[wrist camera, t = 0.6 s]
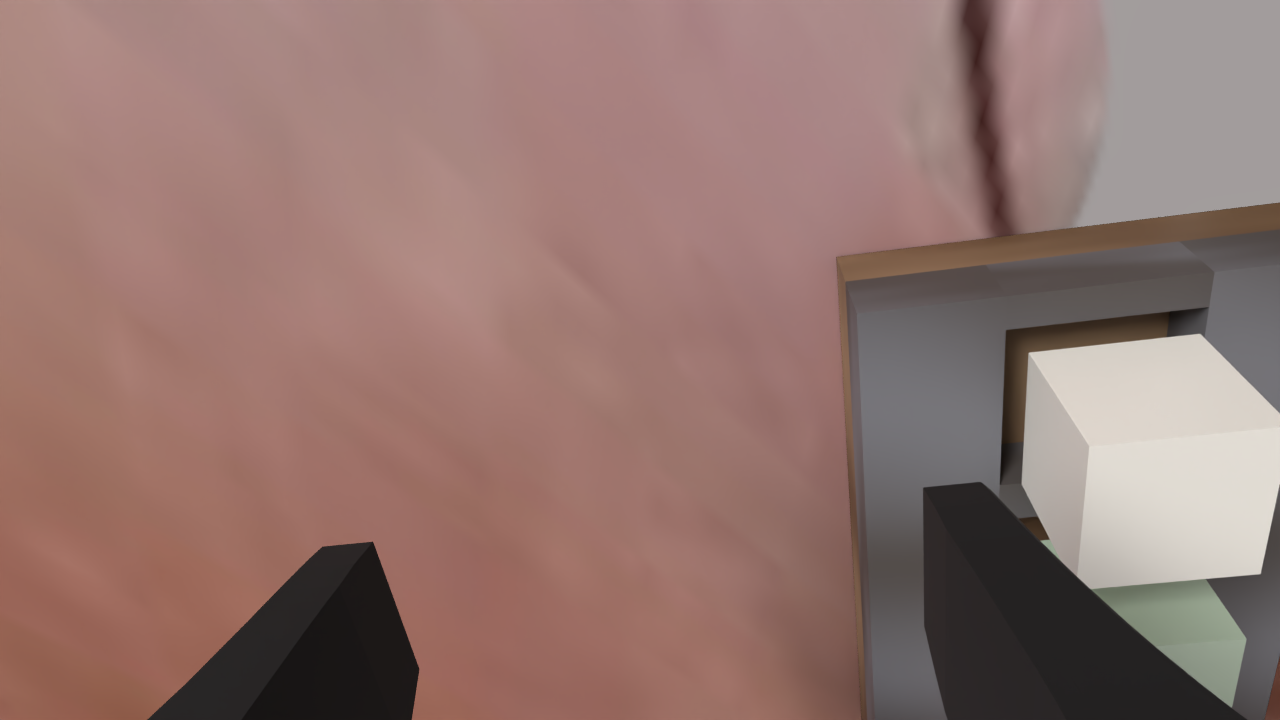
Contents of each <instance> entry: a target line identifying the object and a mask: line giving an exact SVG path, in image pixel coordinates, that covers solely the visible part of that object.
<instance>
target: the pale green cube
mask: <svg viewBox="0 0 1280 720" xmlns="http://www.w3.org/2000/svg"><path fill="white" fill-rule="evenodd" d="M1041 542H1042V543H1043V544H1044V545H1045V546H1046V547H1047V548H1048V549H1049V550H1050V551H1051V552H1052V553H1053V554H1054V555H1055V556H1056V557H1057V558H1058V559H1059V560H1060V558H1059V556H1058V554H1057V552H1056V550H1055V548H1054V546H1053V544H1052V543H1051V541H1050V540H1041ZM1060 561H1061V560H1060ZM1091 590H1092V591H1093V592H1094V593H1095V594H1096V595H1098V596H1099V597H1100V598H1101V599H1102V600H1103V601H1104V602H1105V603H1106V604H1107V605H1109V606H1110V607H1111V608H1112V609H1113V610H1114V611H1115V612H1116V613H1117V614H1119V615H1120V616H1121V617H1122V618H1123V619H1124V620H1125V621H1126V622H1127V623H1128V624H1130V625H1131V626H1132V627H1133V628H1134V629H1135V630H1137V631H1138V632H1139V633H1140V634H1141V635H1142V636H1143V637H1145V638H1146V639H1147V640H1148V641H1149V642H1150V643H1152V644H1153V645H1154V646H1155V647H1156V648H1157V649H1159V650H1160V651H1161V652H1162V653H1164V654H1165V655H1166V656H1167V657H1168V658H1170V659H1171V660H1172V661H1173V662H1175V663H1176V664H1177V665H1178V666H1179V667H1181V668H1182V669H1183V670H1184V671H1186V672H1187V673H1188V674H1189V675H1190V676H1192V677H1193V678H1194V679H1195V680H1197V681H1198V682H1199V683H1200V684H1202V685H1203V686H1204V687H1205V688H1207V689H1208V690H1209V691H1211V692H1212V693H1213V694H1214V695H1216V696H1217V697H1218V698H1219V699H1221V700H1222V701H1223V702H1225V703H1226V704H1227V705H1229V706H1230V707H1231V708H1232V705H1233V701H1234V696H1235V691H1236V686H1237V682H1238V677H1239V672H1240V668H1241V663H1242V658H1243V654H1244V649H1245V644H1246V640H1247V638H1246V637H1245V636H1244V634H1243V633H1242V631H1241V630H1240V628H1239V627H1238V625H1237V624H1236V622H1235V621H1234V620H1233V618H1232V617H1231V615H1230V614H1229V612H1228V611H1227V609H1226V608H1225V606H1224V605H1223V604H1222V602H1221V601H1220V599H1219V598H1218V596H1217V595H1216V593H1215V592H1214V590H1213V589H1212V588H1211V586H1210V585H1209V583H1208V582H1207V580H1206V579H1199V580H1188V581H1176V582H1165V583H1153V584H1142V585H1130V586H1119V587H1108V588H1096V589H1091Z"/></svg>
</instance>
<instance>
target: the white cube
mask: <svg viewBox="0 0 1280 720" xmlns="http://www.w3.org/2000/svg"><path fill="white" fill-rule="evenodd" d="M1279 485H1280V413H1279V412H1278V411H1277V410H1276V409H1275V408H1274V407H1273V406H1272V405H1271V404H1270V403H1269V402H1268V401H1267V400H1266V399H1265V398H1264V397H1263V396H1262V395H1261V394H1260V393H1259V392H1258V391H1257V390H1256V389H1255V388H1254V387H1253V386H1252V385H1251V384H1250V383H1249V382H1248V381H1247V380H1246V379H1245V378H1244V377H1243V376H1242V375H1241V374H1240V373H1239V372H1238V371H1237V370H1236V369H1235V368H1234V367H1233V366H1232V365H1231V364H1230V363H1229V362H1228V361H1227V360H1226V359H1225V358H1224V357H1223V356H1222V355H1221V354H1220V353H1219V352H1218V351H1217V350H1216V349H1215V348H1214V347H1213V346H1212V345H1211V344H1210V343H1209V342H1208V341H1207V340H1206V339H1205V338H1204V337H1203V336H1202V335H1201V334H1193V335H1184V336H1175V337H1166V338H1157V339H1148V340H1139V341H1130V342H1121V343H1112V344H1103V345H1094V346H1085V347H1076V348H1067V349H1058V350H1049V351H1040V352H1031V353H1029V354H1028V373H1027V391H1026V410H1025V429H1024V448H1023V466H1022V486H1023V488H1024V490H1025V492H1026V494H1027V496H1028V498H1029V500H1030V502H1031V504H1032V505H1033V507H1034V509H1035V511H1036V513H1037V515H1038V517H1039V519H1040V521H1041V523H1042V525H1043V527H1044V529H1045V531H1046V533H1047V535H1048V537H1049V539H1050V541H1051V543H1052V544H1053V546H1054V548H1055V550H1056V552H1057V554H1058V556H1059V558H1060V560H1061V562H1062V563H1063V564H1064V565H1065V566H1066V567H1067V568H1069V569H1070V570H1071V571H1072V572H1073V573H1074V574H1075V575H1076V576H1077V577H1078V578H1079V579H1080V580H1081V581H1082V582H1083V583H1084V584H1085V585H1087V586H1088V587H1089V588H1090V589H1096V588H1108V587H1119V586H1130V585H1142V584H1153V583H1165V582H1176V581H1188V580H1199V579H1211V578H1222V577H1234V576H1245V575H1257V574H1261V570H1262V565H1263V560H1264V556H1265V551H1266V546H1267V542H1268V537H1269V532H1270V527H1271V523H1272V518H1273V513H1274V509H1275V504H1276V499H1277V495H1278V490H1279Z"/></svg>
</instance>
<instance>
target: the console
mask: <svg viewBox="0 0 1280 720" xmlns="http://www.w3.org/2000/svg"><path fill="white" fill-rule="evenodd" d="M836 258H837V276H838V295H839V313H840V332H841V350H842V369H843V387H844V406H845V424H846V443H847V461H848V479H849V498H850V516H851V535H852V553H853V572H854V590H855V609H856V627H857V646H858V664H859V682H860V701H861V719H862V720H947V717H946V714H945V710H944V706H943V702H942V698H941V694H940V690H939V686H938V682H937V678H936V674H935V670H934V666H933V662H932V657H931V653H930V649H929V645H928V640H927V636H926V632H925V628H924V550H923V487H932V486H943V485H953V484H963V483H973V482H982V483H983V484H984V485H985V486H987V487H988V488H989V489H990V490H992V492H993V493H994V494H995V495H996V496H997V497H998V498H999V499H1000V500H1001V501H1002V502H1003V503H1004V504H1005V505H1006V506H1007V507H1008V508H1009V509H1010V510H1011V511H1012V512H1013V514H1014V515H1015V516H1016V517H1017V518H1018V519H1019V520H1020V521H1021V522H1022V523H1023V524H1024V525H1025V526H1026V527H1027V528H1028V529H1029V530H1030V531H1031V532H1032V533H1033V534H1034V535H1035V536H1036V537H1037V538H1038V539H1039V540H1040V541H1041V540H1050V539H1049V537H1048V535H1047V533H1046V531H1045V529H1044V527H1043V525H1042V523H1041V521H1040V519H1039V517H1038V515H1037V513H1036V511H1035V509H1034V507H1033V505H1032V504H1031V502H1030V500H1029V498H1028V496H1027V494H1026V492H1025V490H1024V488H1023V486H1022V466H1023V448H1024V429H1025V410H1026V391H1027V373H1028V354H1029V353H1031V352H1040V351H1049V350H1058V349H1067V348H1076V347H1085V346H1094V345H1103V344H1112V343H1121V342H1130V341H1139V340H1148V339H1157V338H1166V337H1175V336H1184V335H1193V334H1201V335H1202V336H1203V337H1204V338H1205V339H1206V340H1207V341H1208V342H1209V343H1210V344H1211V345H1212V346H1213V347H1214V348H1215V349H1216V350H1217V351H1218V352H1219V353H1220V354H1221V355H1222V356H1223V357H1224V358H1225V359H1226V360H1227V361H1228V362H1229V363H1230V364H1231V365H1232V366H1233V367H1234V368H1235V369H1236V370H1237V371H1238V372H1239V373H1240V374H1241V375H1242V376H1243V377H1244V378H1245V379H1246V380H1247V381H1248V382H1249V383H1250V384H1251V385H1252V386H1253V387H1254V388H1255V389H1256V390H1257V391H1258V392H1259V393H1260V394H1261V395H1262V396H1263V397H1264V398H1265V399H1266V400H1267V401H1268V402H1269V403H1270V404H1271V405H1272V406H1273V407H1274V408H1275V409H1276V410H1277V411H1278V412H1279V413H1280V203H1273V204H1265V205H1256V206H1248V207H1240V208H1232V209H1224V210H1216V211H1207V212H1200V213H1191V214H1183V215H1175V216H1167V217H1158V218H1150V219H1142V220H1135V221H1126V222H1118V223H1110V224H1102V225H1093V226H1085V227H1077V228H1069V229H1061V230H1052V231H1044V232H1036V233H1028V234H1020V235H1012V236H1004V237H995V238H987V239H979V240H971V241H963V242H955V243H947V244H938V245H930V246H922V247H914V248H906V249H898V250H889V251H881V252H873V253H865V254H857V255H849V256H841V257H836ZM1206 580H1207V582H1208V583H1209V585H1210V586H1211V588H1212V589H1213V590H1214V592H1215V593H1216V595H1217V596H1218V598H1219V599H1220V601H1221V602H1222V604H1223V605H1224V606H1225V608H1226V609H1227V611H1228V612H1229V614H1230V615H1231V617H1232V618H1233V620H1234V621H1235V622H1236V624H1237V625H1238V627H1239V628H1240V630H1241V631H1242V633H1243V634H1244V636H1245V637H1246V638H1247V640H1246V644H1245V649H1244V654H1243V658H1242V663H1241V668H1240V672H1239V677H1238V682H1237V686H1236V691H1235V696H1234V701H1233V705H1232V708H1233V709H1234V710H1235V711H1236V712H1238V713H1239V714H1240V715H1242V716H1243V717H1244V718H1246V719H1247V720H1264V719H1265V715H1266V710H1267V706H1268V702H1269V698H1270V694H1271V690H1272V685H1273V681H1274V677H1275V673H1276V669H1277V664H1278V660H1279V656H1280V485H1279V490H1278V495H1277V499H1276V504H1275V509H1274V513H1273V518H1272V523H1271V527H1270V532H1269V537H1268V542H1267V546H1266V551H1265V556H1264V560H1263V565H1262V570H1261V574H1257V575H1245V576H1234V577H1222V578H1211V579H1206Z"/></svg>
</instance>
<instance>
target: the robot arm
mask: <svg viewBox="0 0 1280 720" xmlns="http://www.w3.org/2000/svg"><path fill="white" fill-rule="evenodd" d="M923 550H924V628H925V632H926V636H927V640H928V645H929V649H930V653H931V657H932V662H933V666H934V670H935V674H936V678H937V682H938V686H939V690H940V694H941V698H942V702H943V706H944V710H945V714H946V717H947V720H1247V719H1246V718H1244V717H1243V716H1242V715H1240V714H1239V713H1238V712H1236V711H1235V710H1234V709H1233V708H1231V707H1230V706H1229V705H1227V704H1226V703H1225V702H1223V701H1222V700H1221V699H1219V698H1218V697H1217V696H1216V695H1214V694H1213V693H1212V692H1211V691H1209V690H1208V689H1207V688H1205V687H1204V686H1203V685H1202V684H1200V683H1199V682H1198V681H1197V680H1195V679H1194V678H1193V677H1192V676H1190V675H1189V674H1188V673H1187V672H1186V671H1184V670H1183V669H1182V668H1181V667H1179V666H1178V665H1177V664H1176V663H1175V662H1173V661H1172V660H1171V659H1170V658H1168V657H1167V656H1166V655H1165V654H1164V653H1162V652H1161V651H1160V650H1159V649H1157V648H1156V647H1155V646H1154V645H1153V644H1152V643H1150V642H1149V641H1148V640H1147V639H1146V638H1145V637H1143V636H1142V635H1141V634H1140V633H1139V632H1138V631H1137V630H1135V629H1134V628H1133V627H1132V626H1131V625H1130V624H1128V623H1127V622H1126V621H1125V620H1124V619H1123V618H1122V617H1121V616H1120V615H1119V614H1117V613H1116V612H1115V611H1114V610H1113V609H1112V608H1111V607H1110V606H1109V605H1107V604H1106V603H1105V602H1104V601H1103V600H1102V599H1101V598H1100V597H1099V596H1098V595H1096V594H1095V593H1094V592H1093V591H1092V590H1091V589H1090V588H1089V587H1088V586H1087V585H1085V584H1084V583H1083V582H1082V581H1081V580H1080V579H1079V578H1078V577H1077V576H1076V575H1075V574H1074V573H1073V572H1072V571H1071V570H1070V569H1069V568H1067V567H1066V566H1065V565H1064V564H1063V563H1062V562H1061V561H1060V560H1059V559H1058V558H1057V557H1056V556H1055V555H1054V554H1053V553H1052V552H1051V551H1050V550H1049V549H1048V548H1047V547H1046V546H1045V545H1044V544H1043V543H1042V542H1041V541H1040V540H1039V539H1038V538H1037V537H1036V536H1035V535H1034V534H1033V533H1032V532H1031V531H1030V530H1029V529H1028V528H1027V527H1026V526H1025V525H1024V524H1023V523H1022V522H1021V521H1020V520H1019V519H1018V518H1017V517H1016V516H1015V515H1014V514H1013V512H1012V511H1011V510H1010V509H1009V508H1008V507H1007V506H1006V505H1005V504H1004V503H1003V502H1002V501H1001V500H1000V499H999V498H998V497H997V496H996V495H995V494H994V493H993V492H992V490H990V489H989V488H988V487H987V486H985V485H984V484H983V483H982V482H973V483H963V484H953V485H943V486H932V487H923ZM418 674H419V667H418V664H417V662H416V659H415V656H414V653H413V651H412V648H411V645H410V642H409V640H408V637H407V634H406V631H405V629H404V626H403V623H402V620H401V617H400V615H399V612H398V609H397V606H396V604H395V601H394V598H393V595H392V593H391V590H390V587H389V584H388V582H387V579H386V576H385V573H384V571H383V568H382V565H381V562H380V560H379V557H378V554H377V551H376V549H375V546H374V543H373V542H366V543H356V544H346V545H336V546H325V547H322V548H321V549H320V550H318V551H317V552H316V553H315V554H314V555H313V556H312V557H311V558H310V559H309V560H308V561H307V562H306V563H305V564H304V565H303V566H302V567H301V568H300V569H299V570H298V571H297V572H296V573H295V574H294V575H293V576H292V577H291V578H290V579H289V580H288V581H287V582H286V583H285V584H284V585H283V586H282V587H281V588H280V589H279V590H278V591H277V592H276V593H275V594H274V595H273V596H272V597H271V598H270V599H269V600H268V601H267V602H266V603H265V604H264V605H263V606H262V607H261V608H260V609H259V610H258V611H257V612H256V614H255V615H254V616H253V617H252V618H251V619H250V620H249V621H248V622H247V623H246V624H245V625H244V626H243V627H242V628H241V629H240V630H239V631H238V632H237V633H236V634H235V635H234V636H233V637H232V638H231V639H230V640H229V641H228V642H227V643H226V644H225V645H224V646H223V647H222V648H221V649H220V650H219V651H218V652H217V653H216V654H215V655H214V656H213V657H212V658H211V659H210V660H209V661H208V662H207V663H206V664H205V665H204V666H203V667H202V668H201V669H200V670H199V671H198V672H197V673H196V674H195V675H194V676H193V677H192V678H191V679H190V680H189V681H188V682H187V683H186V684H185V685H184V686H183V687H182V688H181V689H180V690H179V691H178V692H177V693H176V694H174V695H173V696H172V697H171V698H170V699H169V700H168V701H167V702H166V703H165V704H164V705H163V706H162V707H161V708H159V709H158V710H157V711H156V712H155V713H154V714H153V715H152V716H151V717H150V718H149V719H148V720H412V714H413V707H414V701H415V694H416V687H417V681H418Z"/></svg>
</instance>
